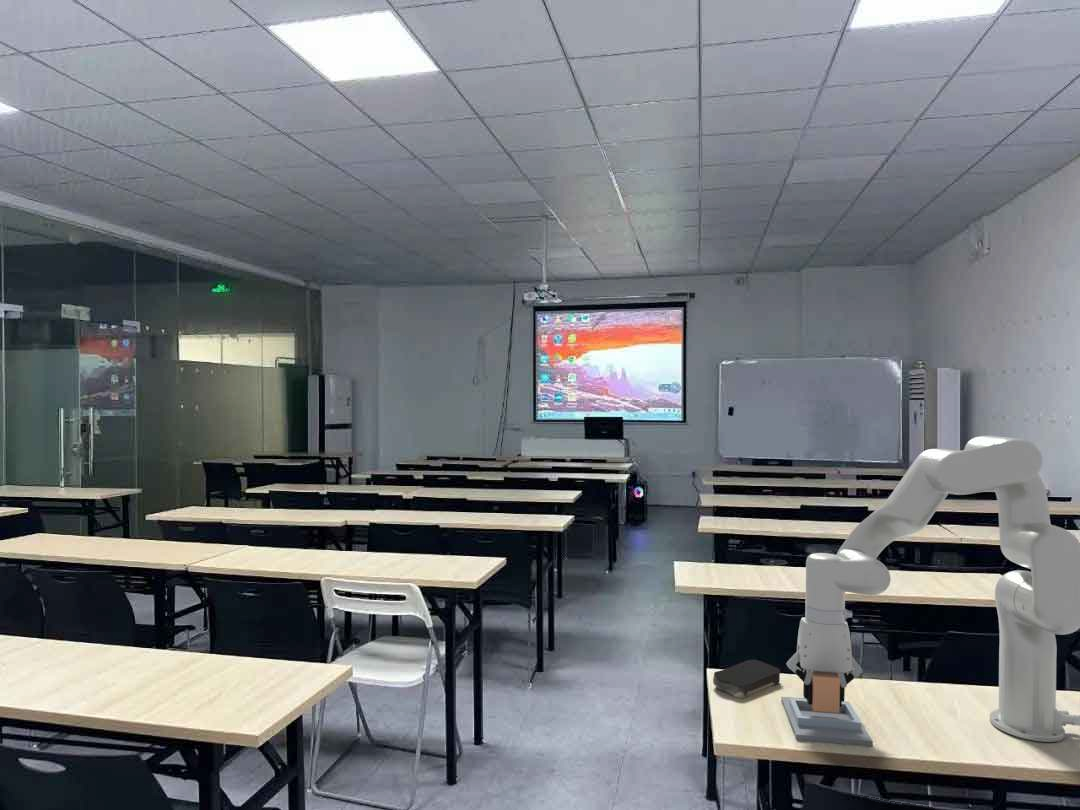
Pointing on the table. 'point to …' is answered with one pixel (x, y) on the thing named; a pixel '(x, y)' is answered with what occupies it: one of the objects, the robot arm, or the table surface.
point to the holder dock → (825, 723)
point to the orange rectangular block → (825, 692)
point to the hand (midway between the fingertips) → (823, 702)
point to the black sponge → (746, 678)
